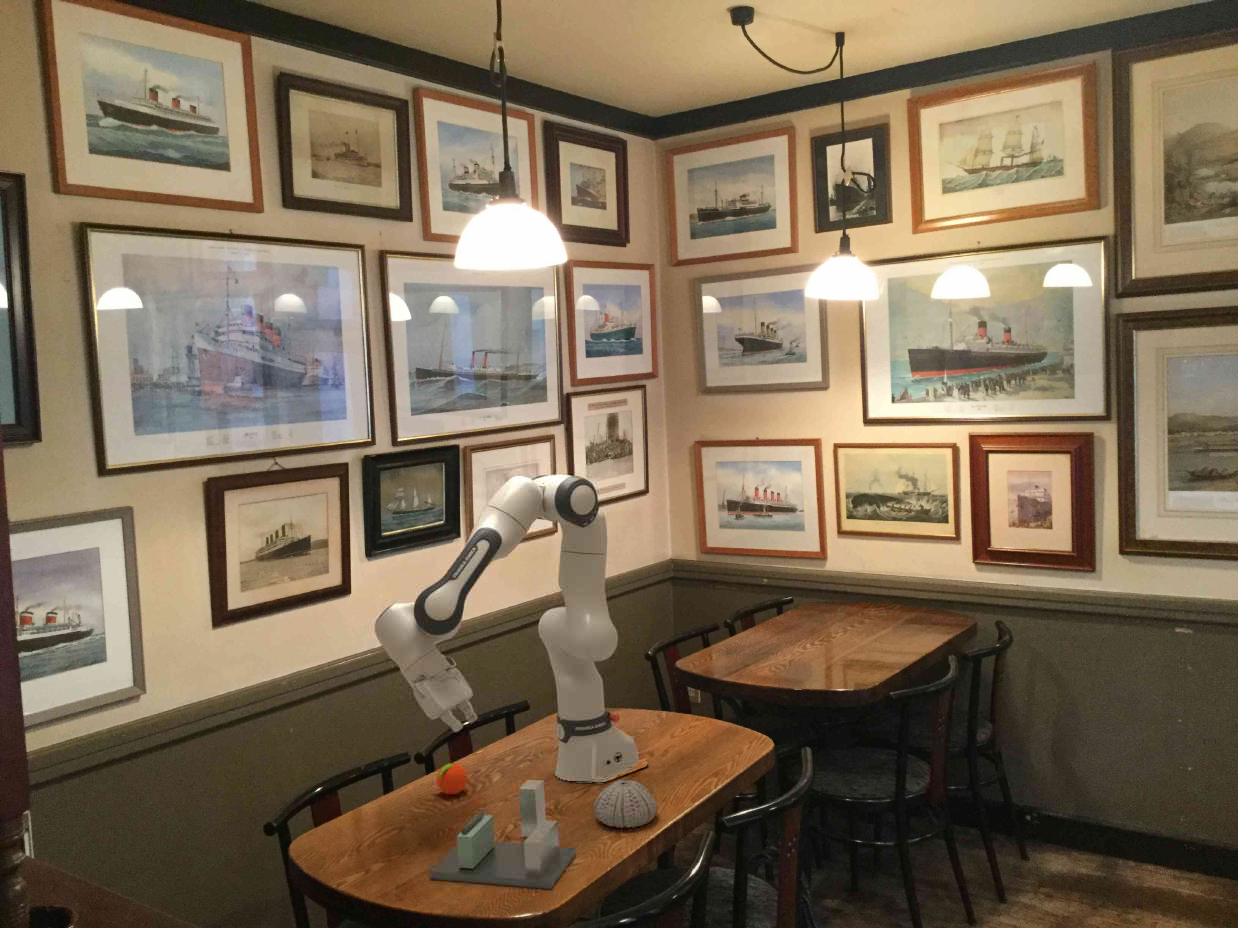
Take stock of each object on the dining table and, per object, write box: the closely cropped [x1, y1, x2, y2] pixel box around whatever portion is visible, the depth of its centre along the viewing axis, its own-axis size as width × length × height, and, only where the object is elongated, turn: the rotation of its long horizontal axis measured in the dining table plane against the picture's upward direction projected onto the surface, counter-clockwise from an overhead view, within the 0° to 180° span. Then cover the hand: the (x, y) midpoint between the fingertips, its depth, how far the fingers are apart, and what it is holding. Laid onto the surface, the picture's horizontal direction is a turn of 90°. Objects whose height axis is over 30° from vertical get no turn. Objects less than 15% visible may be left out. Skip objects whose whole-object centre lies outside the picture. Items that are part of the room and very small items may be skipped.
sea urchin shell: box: [592, 779, 658, 829], centre depth 210 cm, size 13×14×8 cm
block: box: [518, 779, 547, 838], centre depth 206 cm, size 4×5×10 cm
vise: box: [429, 819, 576, 890], centre depth 191 cm, size 24×14×8 cm, turn 74°
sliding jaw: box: [456, 810, 496, 869], centre depth 193 cm, size 3×10×7 cm, turn 164°
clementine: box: [436, 762, 468, 795], centre depth 230 cm, size 8×7×7 cm
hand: (467, 725), depth 210 cm, fingers open, 8 cm apart
